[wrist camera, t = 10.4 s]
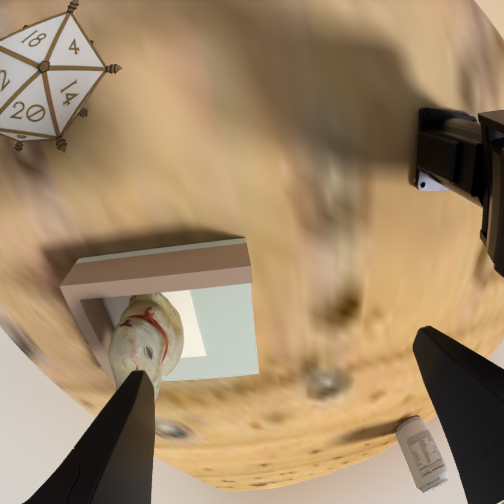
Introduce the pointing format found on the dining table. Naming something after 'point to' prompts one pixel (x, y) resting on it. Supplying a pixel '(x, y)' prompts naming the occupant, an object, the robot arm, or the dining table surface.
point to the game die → (47, 78)
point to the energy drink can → (421, 454)
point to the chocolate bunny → (146, 339)
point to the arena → (173, 303)
